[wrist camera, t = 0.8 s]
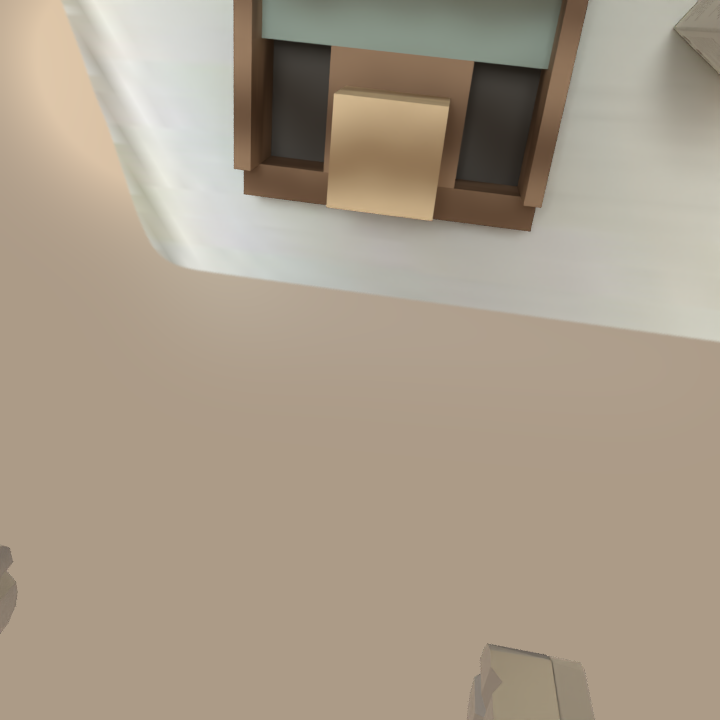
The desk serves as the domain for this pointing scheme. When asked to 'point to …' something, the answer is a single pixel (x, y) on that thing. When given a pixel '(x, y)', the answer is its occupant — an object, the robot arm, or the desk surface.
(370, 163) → the maple block
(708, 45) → the skincare box
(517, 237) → the desk surface
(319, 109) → the box
